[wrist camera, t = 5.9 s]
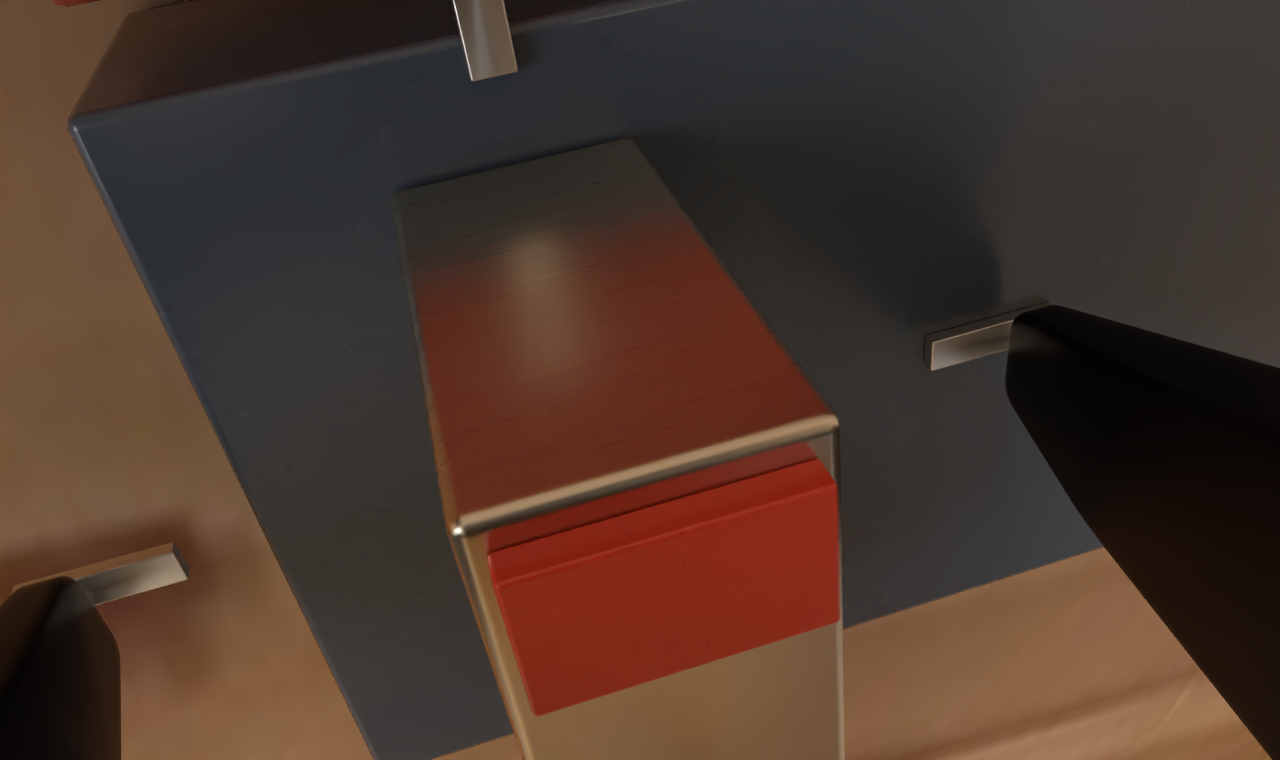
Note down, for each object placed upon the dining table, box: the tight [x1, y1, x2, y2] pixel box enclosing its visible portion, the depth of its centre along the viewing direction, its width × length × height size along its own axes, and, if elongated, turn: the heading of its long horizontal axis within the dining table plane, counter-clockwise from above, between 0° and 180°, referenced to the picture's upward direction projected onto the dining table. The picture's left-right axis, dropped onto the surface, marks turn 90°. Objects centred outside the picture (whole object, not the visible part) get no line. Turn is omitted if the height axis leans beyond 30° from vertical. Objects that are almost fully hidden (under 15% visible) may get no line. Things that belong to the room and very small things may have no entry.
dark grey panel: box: [11, 0, 1280, 760], centre depth 11 cm, size 14×10×3 cm
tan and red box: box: [390, 139, 845, 760], centre depth 8 cm, size 6×2×4 cm, turn 7°
